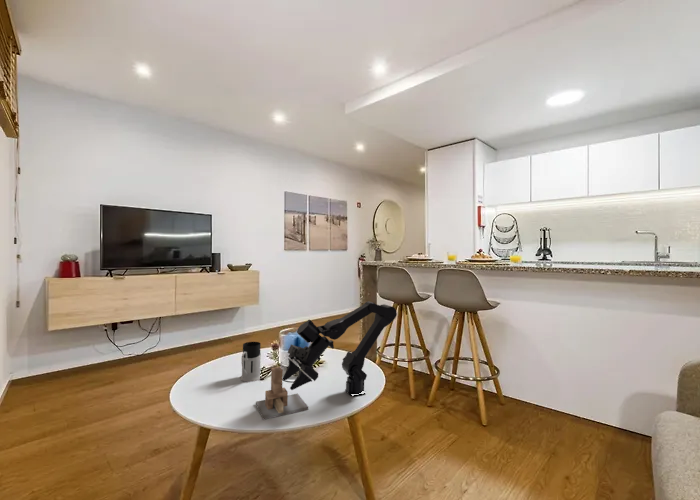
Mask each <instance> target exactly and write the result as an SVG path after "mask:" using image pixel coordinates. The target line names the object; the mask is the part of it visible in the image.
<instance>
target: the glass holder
mask: <svg viewBox="0 0 700 500" xmlns="http://www.w3.org/2000/svg"><path fill="white" fill-rule="evenodd" d="M261 357H262V355H261V342H260V341H248V342H244V343H243V344H242V355H241V377H240V380H241V381H242V382H246V383H248V382H249V383H251V382H256V381H259V380H261V379H260V374H261V367H262V366H261V365H262V364H261V362H262V361H261V359H262V358H261Z"/></svg>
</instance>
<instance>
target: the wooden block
mask: <svg viewBox="0 0 700 500" xmlns="http://www.w3.org/2000/svg"><path fill="white" fill-rule="evenodd" d="M270 370H271V373H270V374H271V375H270V376H271V377H270V379H271V380H270V389H269V390H265V393H264V395H265V398H264V400H265V405H266V407H267V409H268V410H269V409H273V399H274V398H279V397H280V399H281V401H282V402H283V406H287V400H288V395H289V394H288V393H289V392H288V390H287V389H286V388H285V387H283V377H284V374H283V369H282V368H281V367H280V366H276V367H271V368H270Z"/></svg>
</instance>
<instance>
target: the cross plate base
mask: <svg viewBox="0 0 700 500" xmlns="http://www.w3.org/2000/svg"><path fill="white" fill-rule="evenodd" d="M255 406H256V408H257V409H258V413H259V415H261V418H262V419H263V420H267V419H271V418H275V417H281V416H284V415H289V414H294V413H295V414H296V413H298V412H303V411H308V410H309V406H308V404H307V403H306V402H305V401H304V399H303V398H302V397H301V395H299V394H298V393H294V394H292V393H291V394H288V400H287V406H283V402H282V401H281V399H280V397H279V398H274V399H273V409H269V410H268V409H267V407H266V405H265V399H263V400H257V401H255Z"/></svg>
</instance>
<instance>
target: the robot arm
mask: <svg viewBox="0 0 700 500" xmlns="http://www.w3.org/2000/svg"><path fill="white" fill-rule="evenodd" d="M372 313H374V321H373V322H372V324H371V325H370V327H368V330H367V331H366V333H365V335H364V336H363V337H362V339H361V341H360V343H359V344H358V345H357V346H356V348H355V349H354V350H353V351H352V352H351V351H347V352H346V354H345V356H344V357H343V358H342V362H341V369H342V370H343V371H344V372H345V374H346V375H347V377H346V380H345V381H346V382H345V389H344V391H345V392H346V393H347V392H348V393H349V394H359V393H361V392H362V391H365V381H366V380H367V377H368V374H366V372H364V370H363V367H364V365H365V359H366V357H367V355H368V353H369V351H370V350H371V349H372V347H373V345H374V344H375V343H376V341H377V339H378V338H379V336H380V335H381V333H382V332H383V330H384V329H385V328H386V327H388V325H391V323H393V322H394V320H395V319H396V318H397V315H398V313H397V309H396V308H395V307H394V306H391V305H388V304H380V305H379V304H377V303H375V302H372V301H365V303H364V304H362V305H360V306H358V307H357V308H355V309H354V310H352V311H350V312H349V313H348V314H346V315H344V316H342V317H340V318H336V319H332V320H330V321H327V322H326V323H325V324H323V325H320V326H319V325H318V326H316V325H315V323H314V322H313V321H312V319H308V320H307V321H304V322H303V323H302V324H300V325H299V326H298V328H297V330H296V334H297V335H298V336H299V337H301V338H302V339H303V340H304V341H305V342H306V343H308V344H309V343H310V345H309V346H306V345H305V346H304V347H301V346H296V345H294V344H290V346H289V347H288V351H287V353H288V355H287V357H288V358H287V361H288V366H287V367H286V371H285V373H284V374H283V376H282V381H284V382H285V381H287V380H288V379H290V378H291V377H293V376H294V375H295V374H296V373H298V374H297V377H296V378H295V380H294V381H293V382H292V384H291V386H290V387H289V390H291V391H294V390H295V389H298V388H300V387H302V386H303V385H305V384H308V383H311V382H316V380H317V379H318V378H319V373H318V372H317V371H316V370H315V369H314V365H315V363H317V361H321V359H322V358H321V356H322V355H323V353H324V352H325V351H326V350H327V349H328V347H329V348H331V349H332V350H333V349H334V348H335V347H334V341H335V340H338V339H340V337H342V336H343V335H344V334H345V332H346V331H347V330H348V329H349V328H350V327H352V326H353V325H355V324H356V323H357V322H360V321H361V320H362V319H364V318H365V317H367V316H369V315H370V314H372ZM320 334H321V335H320ZM330 339H331V340H330ZM348 393H347V394H348Z"/></svg>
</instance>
